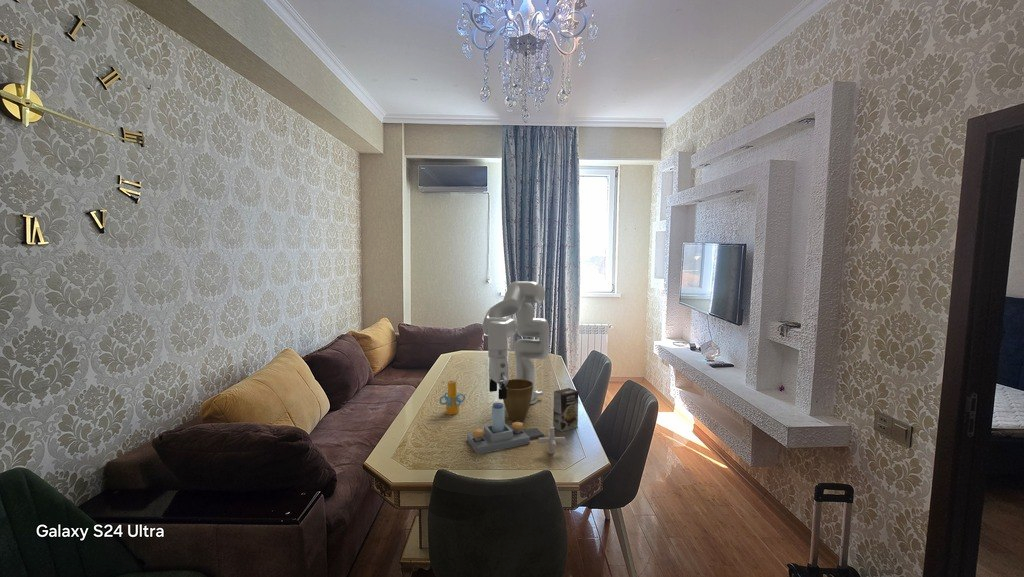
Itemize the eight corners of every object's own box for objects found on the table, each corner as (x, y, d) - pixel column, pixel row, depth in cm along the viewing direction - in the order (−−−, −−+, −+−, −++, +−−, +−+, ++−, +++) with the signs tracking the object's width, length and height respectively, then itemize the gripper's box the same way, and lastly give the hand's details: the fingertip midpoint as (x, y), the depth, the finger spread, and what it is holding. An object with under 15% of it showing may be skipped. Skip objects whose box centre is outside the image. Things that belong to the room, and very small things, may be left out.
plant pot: (529, 410, 208) (529, 377, 207) (536, 423, 194) (536, 388, 192) (498, 412, 206) (498, 379, 204) (503, 425, 191) (503, 390, 189)
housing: (516, 430, 186) (516, 418, 185) (529, 443, 174) (530, 430, 174) (467, 440, 177) (466, 427, 176) (477, 454, 165) (477, 440, 165)
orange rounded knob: (481, 438, 175) (481, 428, 174) (485, 443, 171) (485, 432, 170) (471, 440, 173) (470, 430, 173) (474, 445, 169) (474, 434, 169)
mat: (536, 430, 186) (536, 427, 186) (544, 436, 180) (544, 434, 180) (521, 432, 184) (521, 430, 183) (528, 439, 177) (528, 437, 177)
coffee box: (561, 432, 184) (562, 395, 183) (552, 426, 190) (553, 390, 188) (578, 427, 189) (579, 391, 187) (569, 422, 195) (569, 387, 193)
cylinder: (459, 418, 199) (458, 386, 197) (437, 416, 201) (436, 384, 199) (467, 408, 211) (466, 378, 209) (446, 406, 213) (446, 376, 211)
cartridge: (501, 432, 179) (501, 401, 177) (506, 437, 174) (506, 405, 173) (490, 434, 176) (489, 403, 175) (494, 439, 172) (494, 407, 171)
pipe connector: (536, 447, 171) (537, 422, 170) (561, 446, 172) (562, 421, 171) (540, 459, 161) (541, 433, 160) (567, 458, 162) (567, 432, 161)
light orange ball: (519, 431, 182) (520, 421, 181) (524, 435, 178) (524, 425, 177) (510, 433, 180) (510, 422, 179) (514, 437, 176) (514, 427, 175)
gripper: (515, 356, 165) (515, 400, 167) (498, 347, 181) (498, 387, 183) (497, 358, 162) (497, 403, 164) (481, 348, 178) (481, 389, 180)
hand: (497, 394), depth 173 cm, fingers open, 9 cm apart
